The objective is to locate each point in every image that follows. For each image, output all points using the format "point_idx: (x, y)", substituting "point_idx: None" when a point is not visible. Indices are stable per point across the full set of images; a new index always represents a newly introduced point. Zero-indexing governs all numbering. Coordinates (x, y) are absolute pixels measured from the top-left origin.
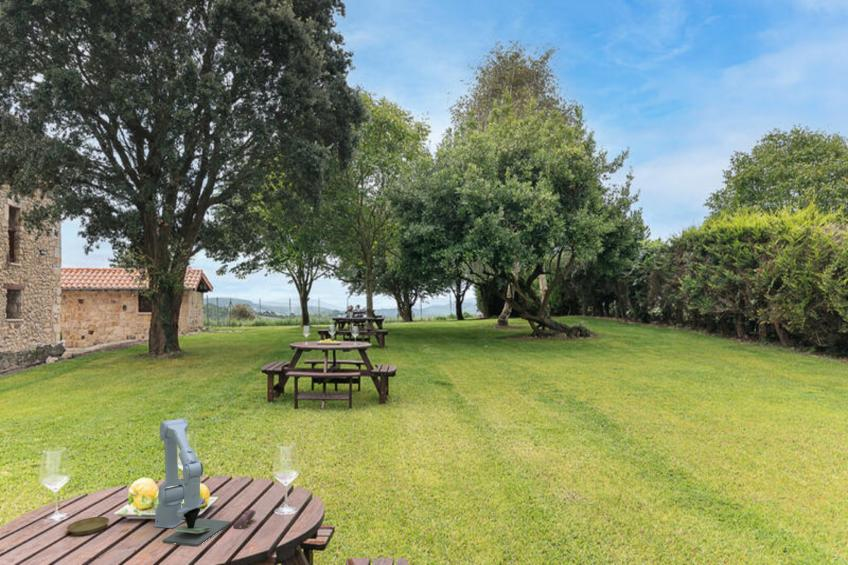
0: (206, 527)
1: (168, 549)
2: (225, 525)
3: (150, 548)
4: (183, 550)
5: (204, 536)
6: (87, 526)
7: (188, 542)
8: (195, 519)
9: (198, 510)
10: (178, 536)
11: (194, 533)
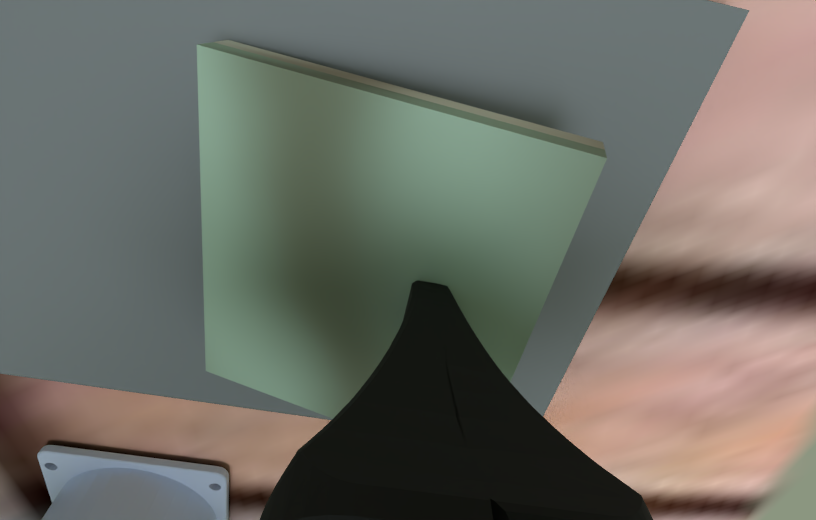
0: (252, 116)
1: (691, 328)
2: None
3: (625, 457)
4: (778, 167)
5: (455, 40)
6: None
7: (640, 189)
8: (418, 354)
9: (436, 510)
10: None
11: None
